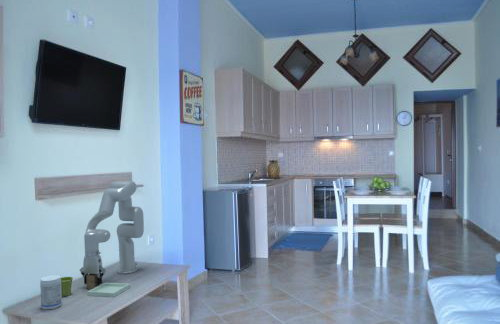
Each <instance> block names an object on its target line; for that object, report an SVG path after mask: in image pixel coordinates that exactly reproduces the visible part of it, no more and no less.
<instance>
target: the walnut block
mask: <svg viewBox="0 0 500 324" xmlns="http://www.w3.org/2000/svg"><path fill="white" fill-rule="evenodd" d="M97 278H98V276H97V274H88V275H86V280H87V284H86V289H87V290H88V291H90V290H92V289H93V288H95V287H97V286H99V285H98V281H97Z"/></svg>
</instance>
